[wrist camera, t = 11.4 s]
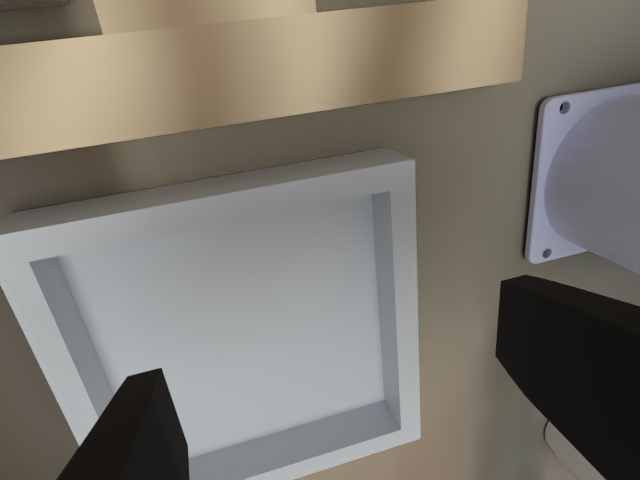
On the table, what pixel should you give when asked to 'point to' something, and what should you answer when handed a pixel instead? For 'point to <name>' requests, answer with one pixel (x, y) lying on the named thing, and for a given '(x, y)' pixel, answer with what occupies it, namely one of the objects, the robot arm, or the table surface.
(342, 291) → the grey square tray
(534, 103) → the table surface
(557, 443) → the photo printer
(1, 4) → the loose billet
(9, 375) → the table surface
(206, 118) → the wooden frame board
